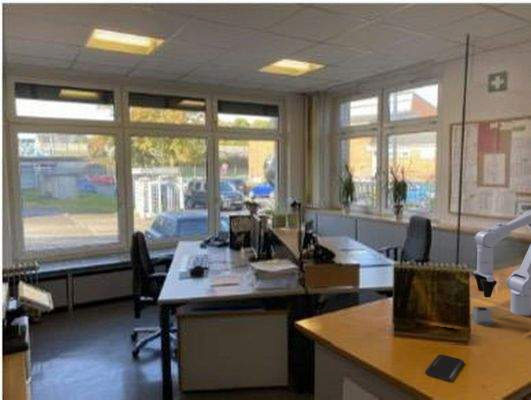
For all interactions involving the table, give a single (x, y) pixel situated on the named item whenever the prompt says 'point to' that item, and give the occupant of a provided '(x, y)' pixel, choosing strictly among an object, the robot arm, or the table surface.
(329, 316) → the table surface
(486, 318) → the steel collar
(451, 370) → the phone
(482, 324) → the hub plate
